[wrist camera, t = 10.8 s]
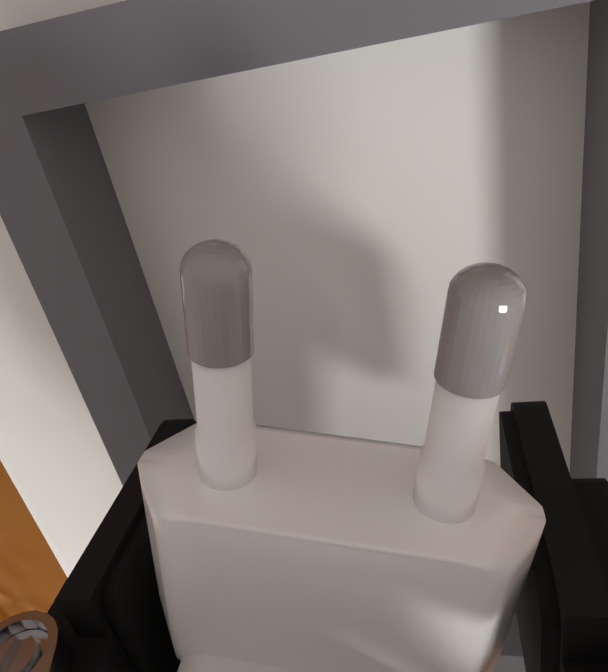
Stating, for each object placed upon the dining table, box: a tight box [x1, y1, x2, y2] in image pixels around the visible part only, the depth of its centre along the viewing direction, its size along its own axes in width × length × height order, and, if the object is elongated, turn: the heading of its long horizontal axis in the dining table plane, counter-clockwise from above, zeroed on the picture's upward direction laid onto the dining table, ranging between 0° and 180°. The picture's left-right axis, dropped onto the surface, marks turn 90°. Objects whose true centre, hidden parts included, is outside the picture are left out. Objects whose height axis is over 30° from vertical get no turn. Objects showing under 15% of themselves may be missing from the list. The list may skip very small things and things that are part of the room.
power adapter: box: [137, 239, 546, 672], centre depth 8 cm, size 11×5×6 cm, turn 179°
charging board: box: [0, 0, 608, 672], centre depth 13 cm, size 22×20×3 cm
